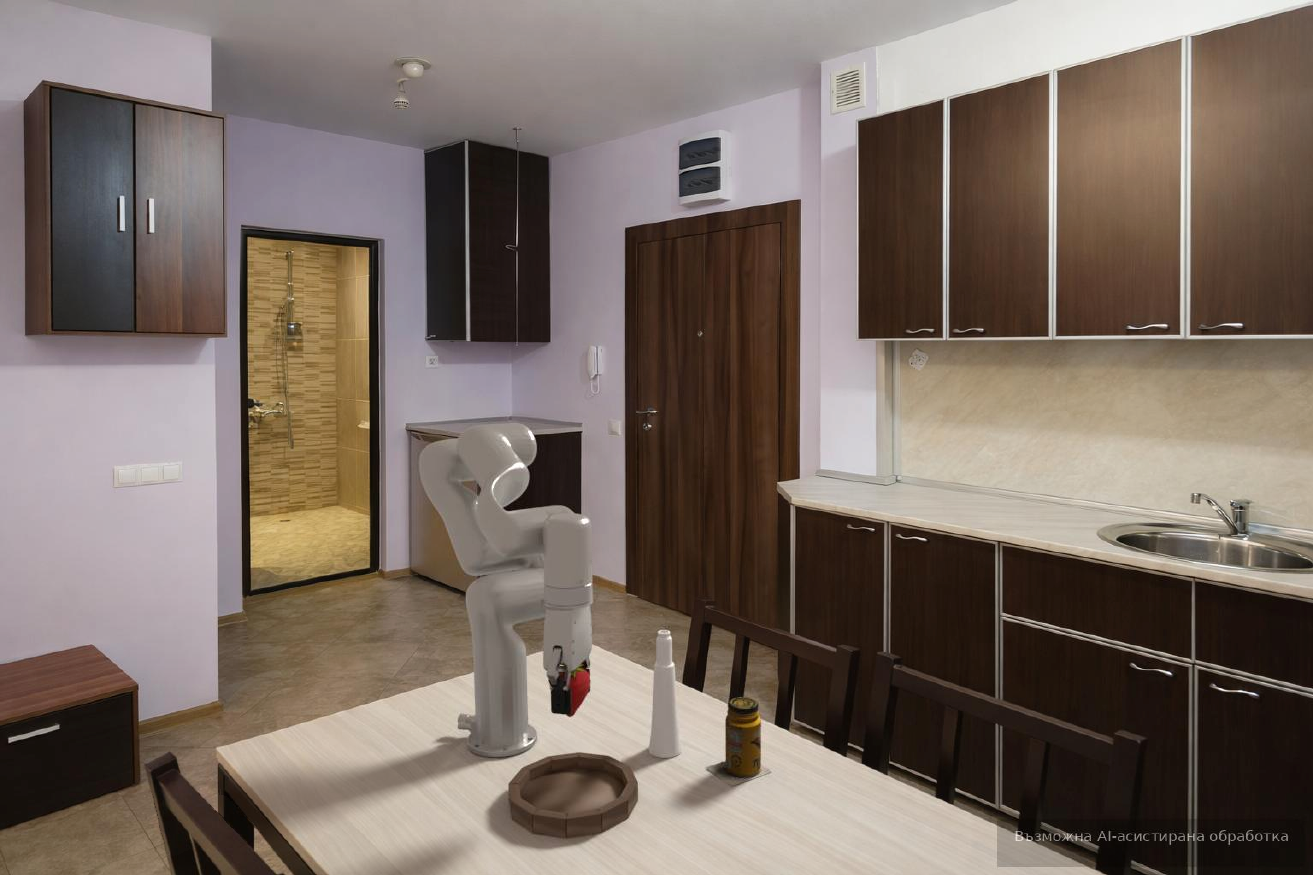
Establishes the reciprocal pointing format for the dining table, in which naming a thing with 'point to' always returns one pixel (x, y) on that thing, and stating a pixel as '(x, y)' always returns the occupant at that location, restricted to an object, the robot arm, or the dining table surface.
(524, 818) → the tray
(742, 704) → the condiment
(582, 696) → the strawberry
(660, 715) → the cosmetic bottle
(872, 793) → the dining table surface
